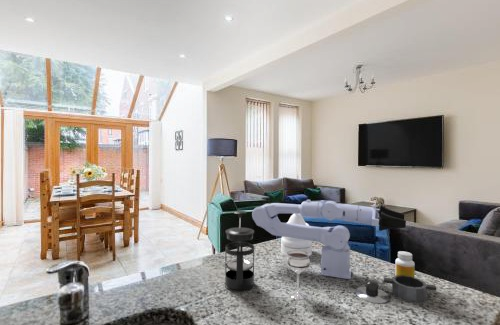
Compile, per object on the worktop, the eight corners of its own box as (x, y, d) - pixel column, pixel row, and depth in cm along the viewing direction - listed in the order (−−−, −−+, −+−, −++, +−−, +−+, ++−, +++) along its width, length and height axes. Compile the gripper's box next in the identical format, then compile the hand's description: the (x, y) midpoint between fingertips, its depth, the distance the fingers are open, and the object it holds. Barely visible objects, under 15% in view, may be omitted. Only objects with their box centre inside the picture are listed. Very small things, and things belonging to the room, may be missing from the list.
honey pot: (311, 258, 108) (312, 213, 108) (279, 255, 111) (279, 211, 111) (312, 248, 121) (312, 207, 121) (282, 245, 124) (283, 206, 124)
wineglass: (290, 287, 84) (290, 248, 84) (312, 292, 81) (312, 252, 81) (282, 297, 78) (283, 255, 78) (306, 303, 75) (306, 259, 75)
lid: (355, 300, 77) (355, 286, 77) (355, 286, 86) (355, 273, 86) (390, 307, 74) (391, 292, 74) (387, 292, 82) (387, 278, 82)
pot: (384, 297, 78) (385, 283, 78) (382, 284, 86) (382, 272, 86) (439, 307, 74) (439, 292, 73) (431, 292, 82) (431, 279, 81)
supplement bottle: (417, 288, 84) (417, 256, 84) (398, 286, 85) (398, 255, 85) (410, 280, 89) (411, 251, 89) (392, 279, 91) (393, 249, 90)
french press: (225, 277, 91) (225, 208, 91) (253, 277, 91) (254, 208, 91) (223, 295, 79) (223, 215, 79) (255, 294, 80) (256, 215, 79)
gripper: (357, 207, 85) (407, 213, 79) (360, 198, 98) (404, 203, 92) (355, 229, 85) (405, 237, 80) (359, 217, 98) (402, 223, 93)
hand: (404, 220), depth 86 cm, fingers open, 7 cm apart
